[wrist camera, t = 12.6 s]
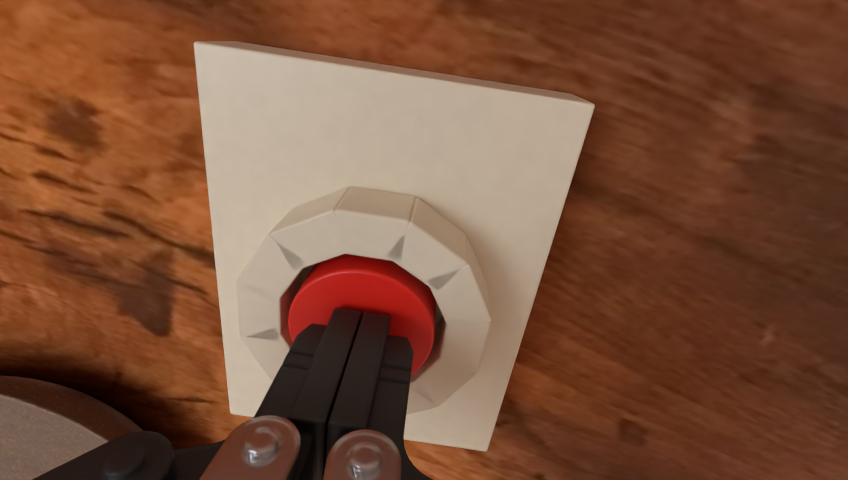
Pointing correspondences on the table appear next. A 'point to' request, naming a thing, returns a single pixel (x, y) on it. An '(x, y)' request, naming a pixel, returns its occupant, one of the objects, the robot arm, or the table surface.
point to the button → (368, 299)
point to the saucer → (51, 426)
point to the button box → (383, 209)
